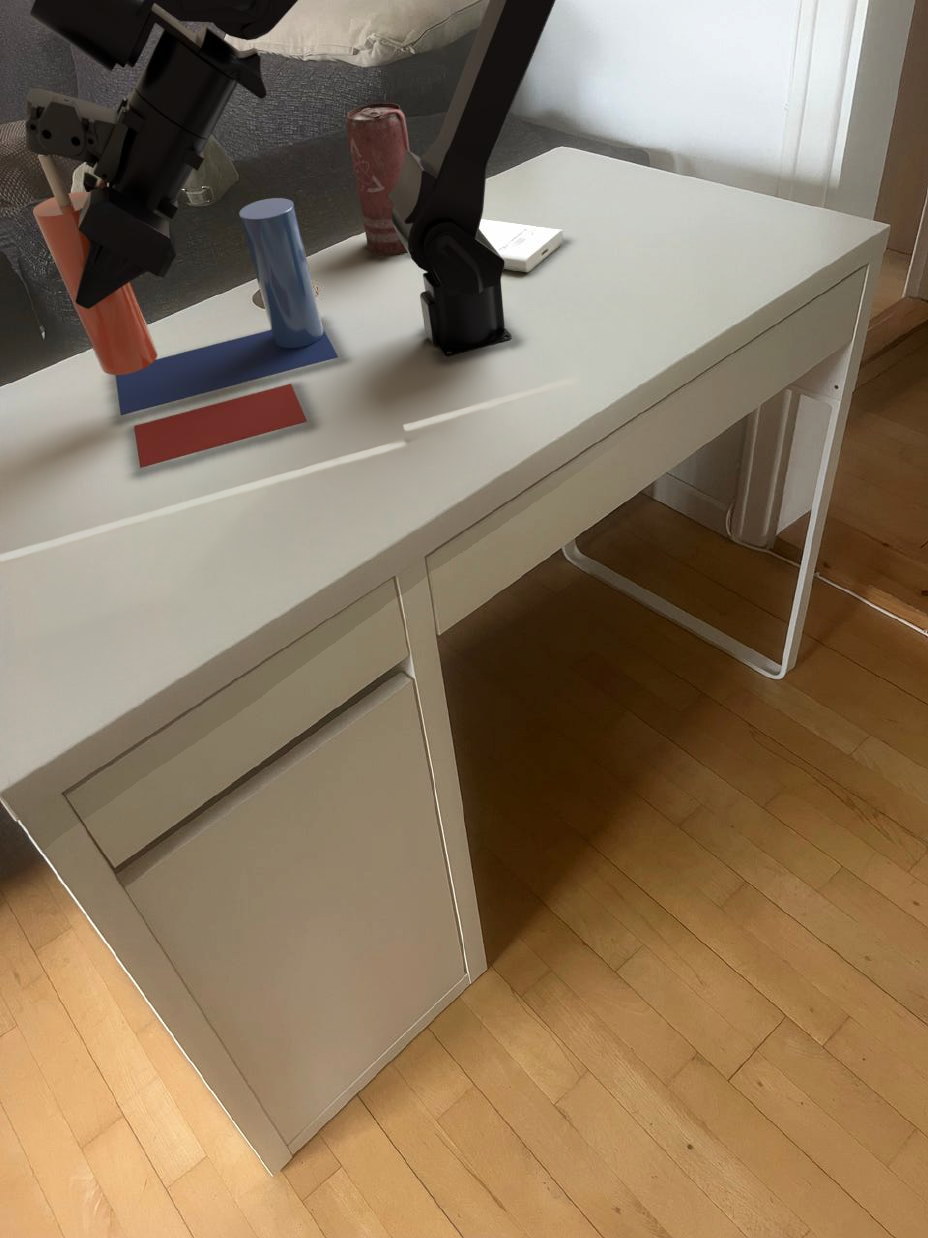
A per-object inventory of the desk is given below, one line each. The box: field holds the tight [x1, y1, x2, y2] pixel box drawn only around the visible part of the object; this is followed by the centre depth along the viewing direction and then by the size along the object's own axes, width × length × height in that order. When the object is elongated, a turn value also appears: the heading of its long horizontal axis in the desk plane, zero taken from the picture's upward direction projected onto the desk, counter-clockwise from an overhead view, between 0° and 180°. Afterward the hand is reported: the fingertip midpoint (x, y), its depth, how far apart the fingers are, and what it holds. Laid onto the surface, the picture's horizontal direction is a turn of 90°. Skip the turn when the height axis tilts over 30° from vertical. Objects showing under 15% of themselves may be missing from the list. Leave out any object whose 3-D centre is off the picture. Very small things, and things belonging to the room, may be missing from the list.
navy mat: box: [115, 328, 339, 416], centre depth 84 cm, size 20×9×1 cm, turn 109°
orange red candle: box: [32, 154, 159, 376], centre depth 71 cm, size 5×5×16 cm
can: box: [345, 102, 411, 257], centre depth 96 cm, size 6×6×14 cm
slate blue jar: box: [238, 197, 324, 348], centre depth 82 cm, size 5×5×12 cm
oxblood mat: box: [133, 383, 308, 468], centre depth 77 cm, size 14×7×1 cm, turn 109°
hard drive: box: [479, 218, 564, 273], centre depth 97 cm, size 2×8×12 cm
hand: (82, 292), depth 72 cm, fingers closed on orange red candle, 5 cm apart
